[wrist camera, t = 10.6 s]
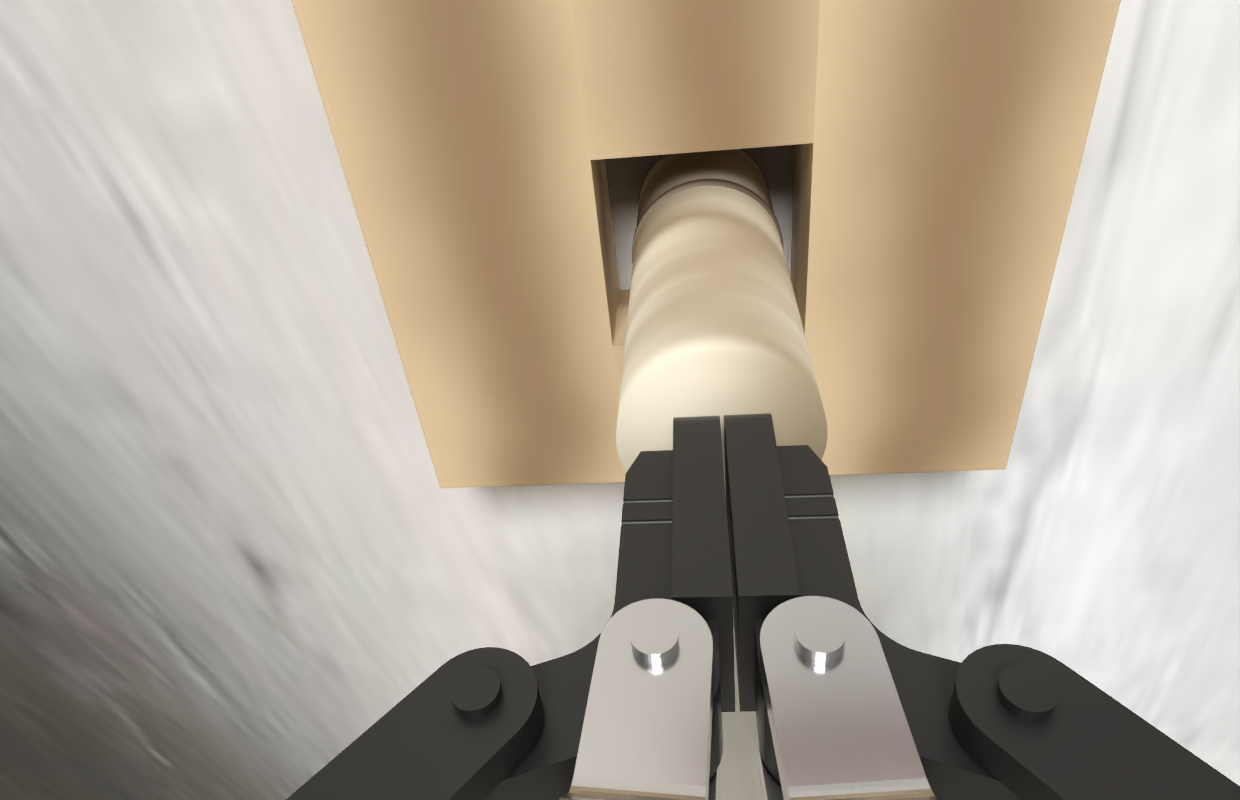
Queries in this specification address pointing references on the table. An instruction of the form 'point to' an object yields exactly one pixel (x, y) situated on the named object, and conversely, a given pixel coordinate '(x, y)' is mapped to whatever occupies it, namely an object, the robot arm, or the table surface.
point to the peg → (712, 310)
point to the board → (696, 122)
